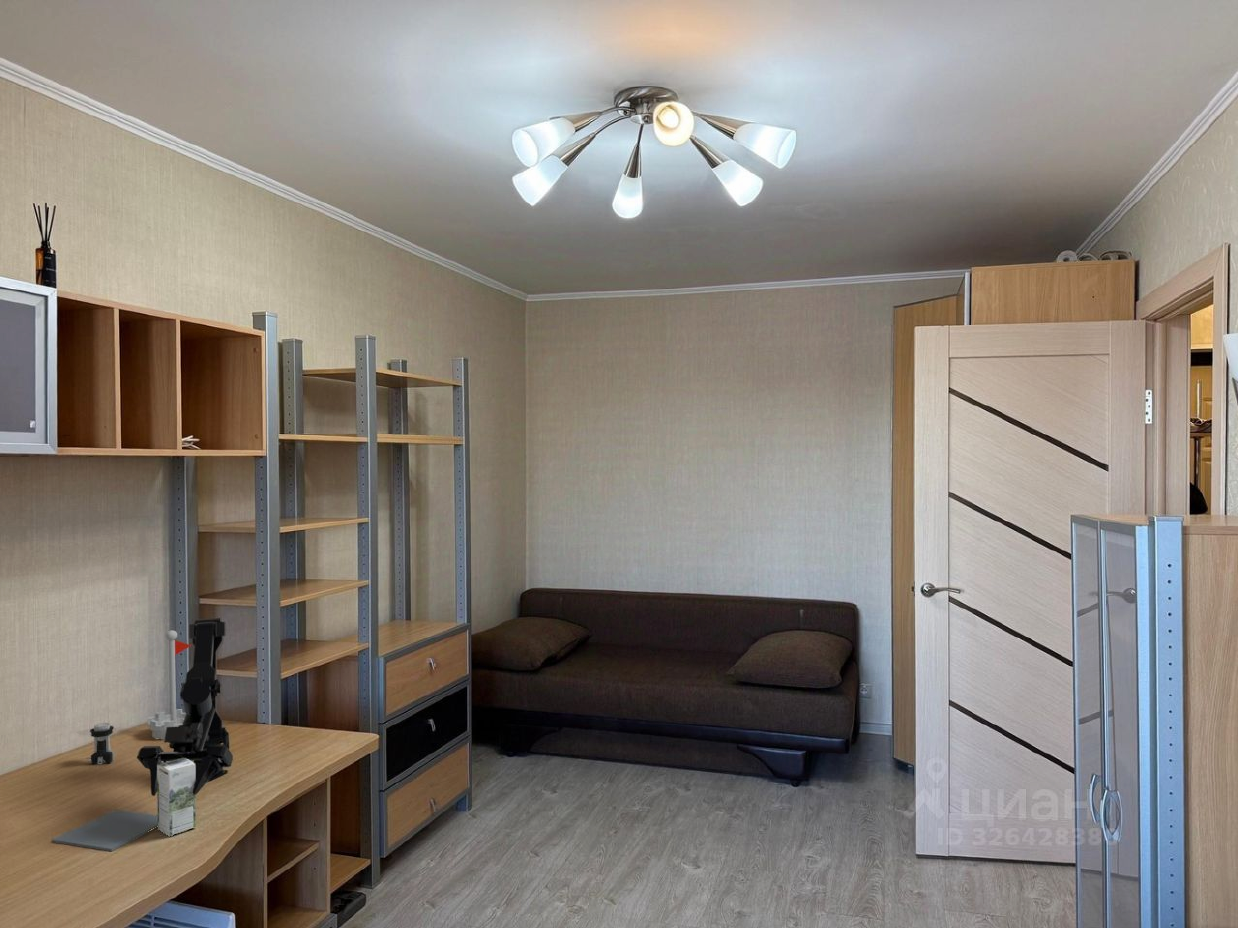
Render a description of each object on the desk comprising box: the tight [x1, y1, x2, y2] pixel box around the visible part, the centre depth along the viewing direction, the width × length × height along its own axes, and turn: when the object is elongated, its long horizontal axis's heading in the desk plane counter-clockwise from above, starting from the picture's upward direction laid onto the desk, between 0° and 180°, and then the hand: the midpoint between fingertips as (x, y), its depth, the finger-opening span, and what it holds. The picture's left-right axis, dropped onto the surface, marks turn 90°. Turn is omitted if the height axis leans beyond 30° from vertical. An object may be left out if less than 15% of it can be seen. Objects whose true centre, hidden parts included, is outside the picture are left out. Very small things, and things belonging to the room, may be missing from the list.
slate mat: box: [51, 809, 158, 852], centre depth 190 cm, size 16×16×1 cm
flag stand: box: [147, 629, 192, 739], centre depth 256 cm, size 13×13×30 cm
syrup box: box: [156, 758, 197, 838], centre depth 190 cm, size 6×6×14 cm
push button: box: [84, 722, 114, 765], centre depth 232 cm, size 7×5×10 cm
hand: (173, 794), depth 189 cm, fingers open, 8 cm apart
